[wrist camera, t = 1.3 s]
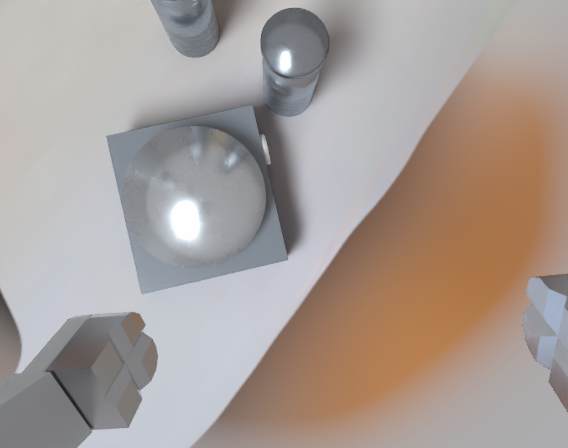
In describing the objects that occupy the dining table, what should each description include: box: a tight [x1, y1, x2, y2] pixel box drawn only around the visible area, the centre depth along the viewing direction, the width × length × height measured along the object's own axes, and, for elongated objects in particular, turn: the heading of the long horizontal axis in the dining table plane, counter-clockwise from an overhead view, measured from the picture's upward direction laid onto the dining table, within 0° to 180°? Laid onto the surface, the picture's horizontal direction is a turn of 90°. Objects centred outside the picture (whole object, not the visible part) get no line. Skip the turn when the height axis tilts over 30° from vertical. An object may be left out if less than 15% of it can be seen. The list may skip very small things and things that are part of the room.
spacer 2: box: [261, 8, 329, 117], centre depth 29 cm, size 5×5×9 cm
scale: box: [106, 105, 288, 294], centre depth 31 cm, size 13×13×3 cm
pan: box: [122, 126, 266, 268], centre depth 29 cm, size 11×11×1 cm
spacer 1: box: [151, 0, 219, 57], centre depth 29 cm, size 5×5×9 cm
